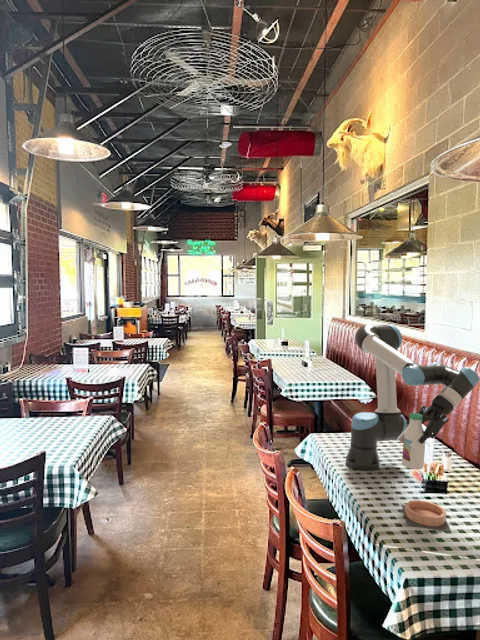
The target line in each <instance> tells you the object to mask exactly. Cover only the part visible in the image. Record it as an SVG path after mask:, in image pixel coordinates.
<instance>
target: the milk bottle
mask: <svg viewBox="0 0 480 640" xmlns="http://www.w3.org/2000/svg"><path fill="white" fill-rule="evenodd" d="M422 418H423V416H422V415H421V414H418V413H417V412H411V413H409V419H410V422H409V425H408V424H407V429H406V431H405V434H404V442H403V443H402V444H403V445H402V460H401V464H402V465H403V467H405V468H407V469H412V470H422V469H424V466H425V465H424V464H425V453H426V452H425V451H426V441H425V442H424V443H423V444H421V445H420V446H419V447H418V448H417V449H416V450H413V448H412V447H411V446H410V444H411V443H412V442H413V441H414V440H415V439H416V438H417V437H418V436H419V435H420V434H421V433H423V431H425V430H424V428H423V424H422V423H421V422H422ZM423 434H424V433H423Z"/></svg>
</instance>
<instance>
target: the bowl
mask: <svg viewBox="0 0 480 640" xmlns="http://www.w3.org/2000/svg"><path fill="white" fill-rule="evenodd" d="M404 505H405V511H406V517H407V518H408V519H409V520H411V521H413V522H415V523H417V524H420V525H423V526H429V527H439V526H442V525H444V524H445V520H446V521H447V511H446V509H445V508H443V507H442V506H441V505H438V504H437V503H434V502H430V501H427V500H419V499H415V500H409V501H407V502H406V503H404Z"/></svg>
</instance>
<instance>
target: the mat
mask: <svg viewBox="0 0 480 640" xmlns="http://www.w3.org/2000/svg"><path fill="white" fill-rule="evenodd" d="M400 506H401V509H402V513H403V515H404V518H405V522H406V526H407V527H413V528H420V529H421V528H422V529H427V530H436V531H442V532H453V531H452V529H451V528H450V526H449V523H448V521H447V519H446V520H445V524H444V525H442V526H439V527H429V526H423V525H420V524H417V523H415V522H413V521H411V520H409V519H408V518H407V517H406V511H405V504H400Z"/></svg>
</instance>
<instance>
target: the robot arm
mask: <svg viewBox="0 0 480 640" xmlns="http://www.w3.org/2000/svg"><path fill="white" fill-rule="evenodd" d="M402 335H403V334H402V332H401V331H400V329H398V327H397V326H395V325H391V324H364V325H363V326H361V327H359V328H358V329H357V331H356V333H355V335H354V340H355V344H356V346H357V347H358V348H359V349H360V350H361V351H362V352H364V353H366V354H370V355H372V356H373V357H375V373H376V374H375V375H376V392H377V393H376V395H377V408H376V409H375V410H374V412H369V411H368V412H367V411H365V412H364V411H362V412H358V413H356V414H354V415H353V416H352V420H351V423H350V426H351V431H350V432H351V433H350V447H349V448H348V449H349V450H348V451H347V454H346V457H345V464H346V465H347V466H348V467H350V468H352V469H355V470H358V471H359V470H360V471H365V472H366V471H368V472H370V471H372V472H373V471H376V470H379V469H380V468H381V467H380V466H381V465H380V464H381V462H380V458H379V454H378V451H377V448H378V442H384V441H385V442H386V441H395V440H398V441H399V442H400V443H401V444H403V442H404V434H405V431H406V429H407V427H408V425H409V422H410V418H409V419H408V420H407V419H406V417H405V416H404V415H403V414H402V411H401V410H400V409H399V408H398V401H397V383H396V373H398V374H400V375H401V379H402V380H403V383H405V385H407V386H412V387H413V386H414V387H417V386H418V387H420V386H428V385H429V386H430V385H433V386H434V385H443V387H444V388H442V389H441V391H440V392H438V394H437V395H436V396H435V397H434V398H433V399H432V401H431V405H430V406H428V407H426V406H425V405H423V406H422V407H421V408H420V409H419V410H418V411H416V413H418V414H421V415H422V416H423V418H422V422H421V423H422V425H423V424H424V423H426V422H428V424H427V425H426V427H425V430H424V431H423V433H424V434H423V433H421V434H420V435H419V436H418V437H417V438H416V439H415V440H414V441H413V442H412V443H411V444H410V446H411V447H412V448H413V450H416V449H417V448H418V447H419V446H420V445H421V444H423V443H424V442H425V443H426V441H427V440H428V439H435V438H436V436H437V435H438V434H439V432H440V431H441V430H442V428H443V427H444V425H445V424H446V423H447V422H448V421H450V419H449V417H448V416H449V415H450V414H451V413H452V411H453V410H454V409H455V408H456V407H457V406H458V405H459V404H460V403H461V401H463V400H464V398H465V397H466V396H467V395H468V394H469V393H470V392H471V391H472V390H473V389H475V387H476V386H477V385H478V383H479V382H480V376H479V375H478V373H477V372H476V371H474V370H473V369H471V368H469V367H466V366H465V367H462V368H461V369H460V370H457V369H454V368H452V367H449V366H448V365H446V364H443V363H440V362H437V361H434V362H432V363H431V364H429V365H421V364H419V363H418V362H415V361H414V360H413V359H411V358H410V357H408V356H406V355H405V354H403V353H401V352H400V351H399V350H398V349H399V348H400V347H401V346H402V343H403V336H402Z"/></svg>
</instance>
